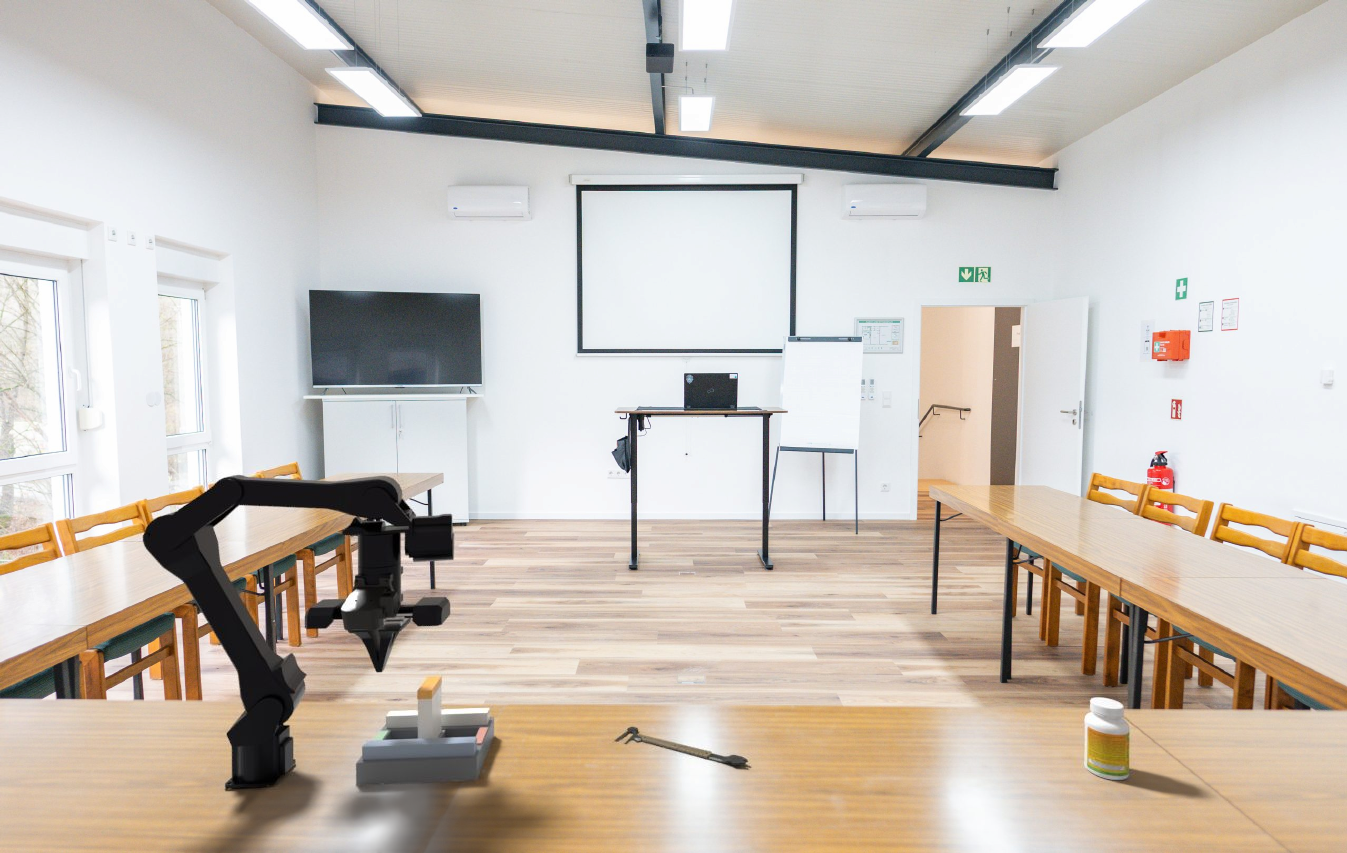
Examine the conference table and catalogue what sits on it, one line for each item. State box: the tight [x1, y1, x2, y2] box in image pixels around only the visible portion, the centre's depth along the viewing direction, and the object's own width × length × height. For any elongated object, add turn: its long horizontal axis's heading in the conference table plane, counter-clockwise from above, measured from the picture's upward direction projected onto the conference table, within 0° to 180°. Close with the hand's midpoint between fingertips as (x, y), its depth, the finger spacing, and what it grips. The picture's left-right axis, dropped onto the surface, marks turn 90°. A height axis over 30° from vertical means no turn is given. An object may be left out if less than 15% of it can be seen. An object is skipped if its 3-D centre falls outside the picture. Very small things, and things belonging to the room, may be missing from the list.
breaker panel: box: [355, 707, 495, 786], centre depth 99 cm, size 16×13×5 cm
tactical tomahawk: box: [614, 726, 749, 766], centre depth 100 cm, size 21×7×1 cm, turn 59°
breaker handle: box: [416, 675, 445, 739], centre depth 99 cm, size 3×5×9 cm, turn 5°
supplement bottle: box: [1083, 696, 1131, 781], centre depth 96 cm, size 5×5×10 cm
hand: (380, 671), depth 98 cm, fingers closed
